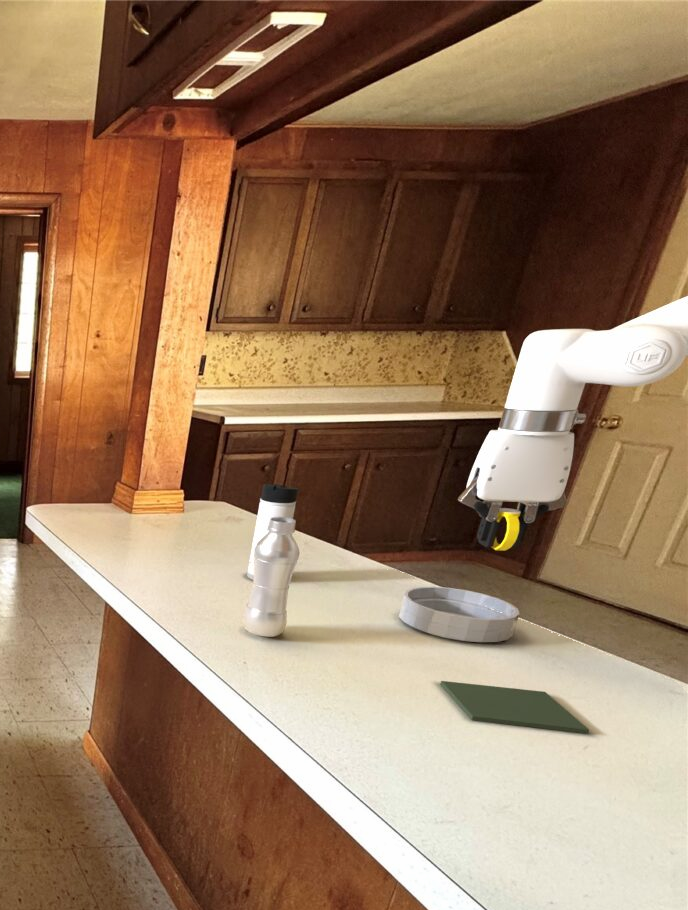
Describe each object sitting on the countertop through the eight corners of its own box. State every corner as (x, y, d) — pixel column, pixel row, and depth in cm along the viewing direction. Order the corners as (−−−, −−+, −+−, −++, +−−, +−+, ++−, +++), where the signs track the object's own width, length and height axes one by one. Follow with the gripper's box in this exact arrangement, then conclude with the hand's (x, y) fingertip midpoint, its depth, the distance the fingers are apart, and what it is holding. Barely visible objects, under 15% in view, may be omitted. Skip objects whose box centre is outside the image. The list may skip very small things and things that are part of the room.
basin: (484, 614, 118) (492, 590, 116) (529, 649, 104) (539, 623, 103) (385, 606, 122) (391, 583, 121) (416, 639, 109) (424, 614, 107)
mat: (543, 695, 92) (545, 691, 91) (587, 733, 83) (589, 729, 83) (439, 684, 95) (441, 680, 95) (471, 719, 87) (472, 716, 86)
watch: (474, 541, 104) (486, 505, 102) (496, 542, 103) (508, 505, 101) (495, 553, 99) (507, 514, 97) (517, 554, 98) (530, 515, 96)
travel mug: (238, 576, 139) (255, 482, 132) (260, 571, 142) (277, 478, 135) (265, 585, 134) (284, 488, 127) (287, 579, 137) (306, 484, 129)
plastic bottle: (261, 643, 109) (283, 527, 102) (231, 628, 116) (250, 517, 108) (292, 638, 111) (317, 522, 104) (261, 623, 117) (282, 513, 110)
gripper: (592, 419, 95) (550, 542, 102) (455, 419, 100) (424, 536, 107) (625, 425, 88) (578, 556, 95) (477, 425, 94) (443, 549, 100)
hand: (497, 544), depth 101 cm, fingers closed on watch, 2 cm apart
